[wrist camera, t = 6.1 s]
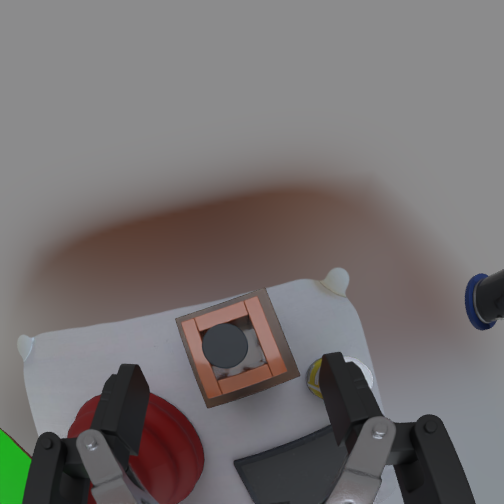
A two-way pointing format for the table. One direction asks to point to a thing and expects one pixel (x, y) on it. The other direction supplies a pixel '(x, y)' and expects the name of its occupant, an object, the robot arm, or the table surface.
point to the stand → (279, 338)
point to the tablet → (293, 469)
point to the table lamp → (145, 464)
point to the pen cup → (258, 356)
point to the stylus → (225, 345)
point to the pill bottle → (314, 371)
